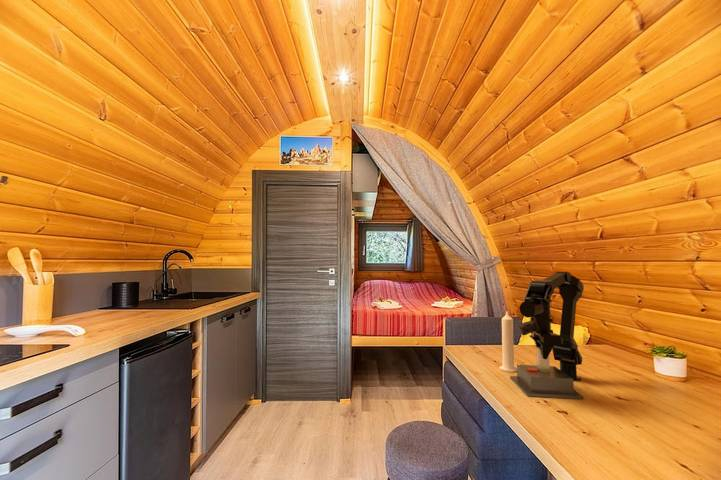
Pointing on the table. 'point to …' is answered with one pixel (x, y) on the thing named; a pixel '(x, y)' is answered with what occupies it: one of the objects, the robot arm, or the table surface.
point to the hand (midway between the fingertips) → (542, 357)
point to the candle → (507, 344)
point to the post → (542, 362)
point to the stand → (545, 383)
